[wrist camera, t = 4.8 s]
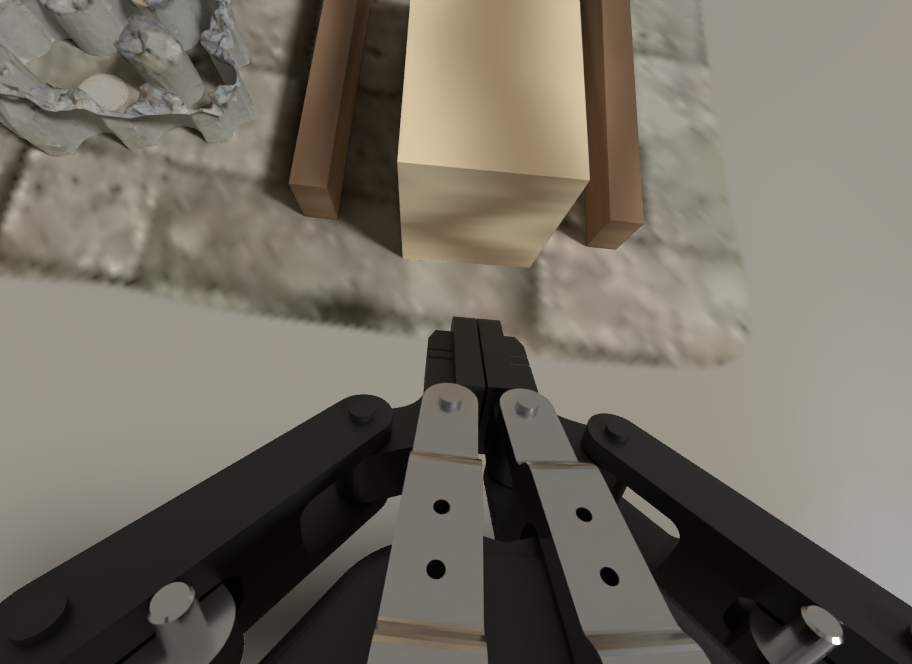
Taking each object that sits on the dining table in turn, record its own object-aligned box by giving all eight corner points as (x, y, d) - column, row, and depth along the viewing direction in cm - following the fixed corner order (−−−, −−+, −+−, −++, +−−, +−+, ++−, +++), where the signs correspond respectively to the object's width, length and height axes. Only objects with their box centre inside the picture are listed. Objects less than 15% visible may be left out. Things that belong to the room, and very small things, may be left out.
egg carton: (13, 167, 18) (-97, 93, 14) (32, 34, 20) (-63, -64, 16) (261, 154, 20) (222, 84, 16) (258, 31, 21) (222, -61, 17)
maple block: (403, 259, 19) (397, 162, 12) (417, 55, 22) (419, -114, 15) (528, 268, 19) (590, 180, 13) (526, 68, 23) (574, -90, 16)
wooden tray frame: (304, 216, 19) (284, 176, 16) (361, -105, 24) (354, -178, 21) (615, 249, 20) (650, 217, 17) (602, -63, 26) (626, -127, 23)
